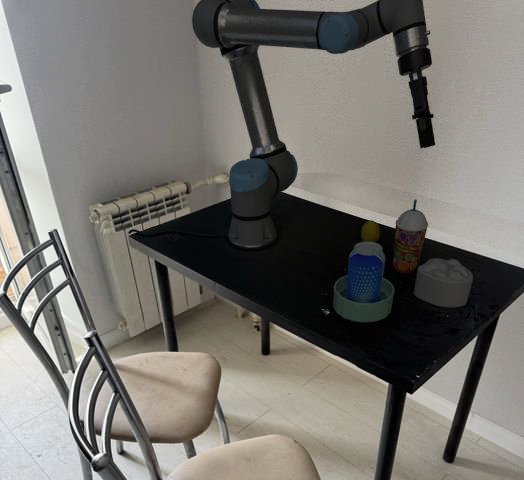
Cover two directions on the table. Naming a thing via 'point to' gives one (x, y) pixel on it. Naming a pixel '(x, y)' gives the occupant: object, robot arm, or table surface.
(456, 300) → the lumpy-topped squat cylinder
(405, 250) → the smoothie
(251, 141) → the robot arm
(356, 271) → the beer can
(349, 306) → the pale green round tub
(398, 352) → the table surface
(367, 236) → the lemon
